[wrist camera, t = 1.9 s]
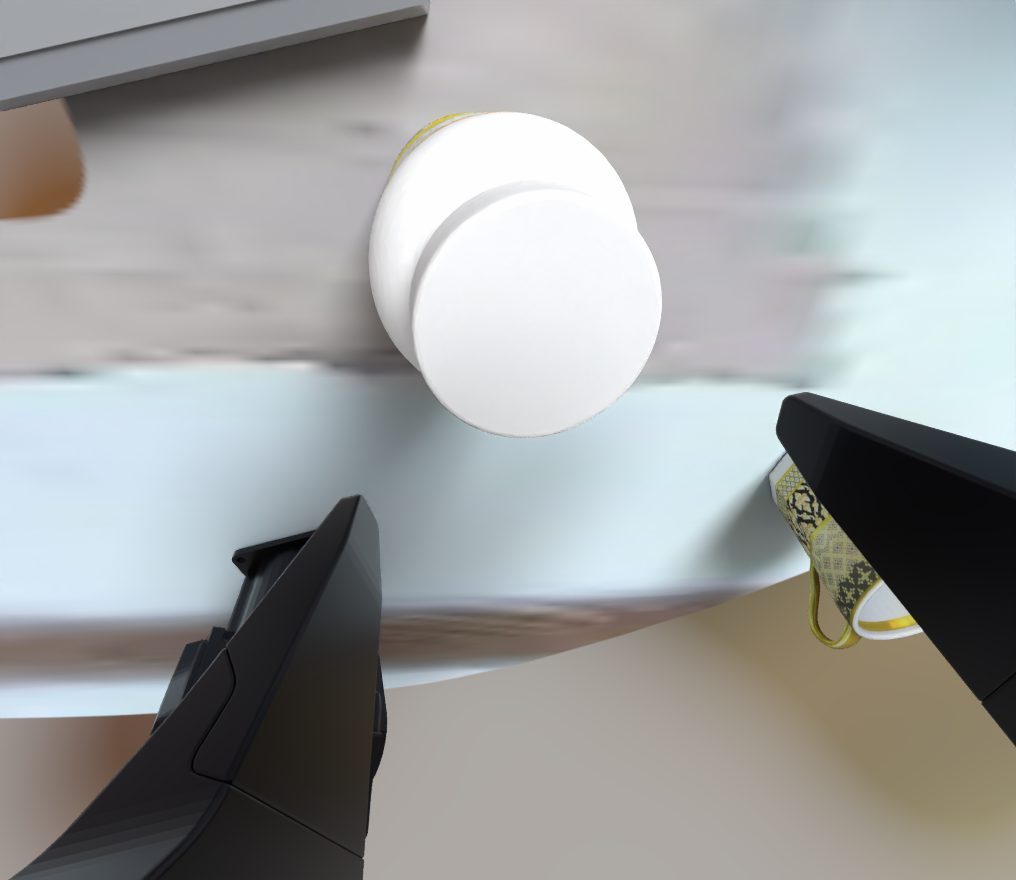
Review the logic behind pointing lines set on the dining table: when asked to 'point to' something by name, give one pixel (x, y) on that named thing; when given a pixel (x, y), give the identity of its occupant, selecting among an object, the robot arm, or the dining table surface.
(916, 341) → the dining table surface
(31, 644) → the dining table surface
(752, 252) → the dining table surface
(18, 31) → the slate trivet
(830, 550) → the ceramic cup
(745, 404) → the dining table surface
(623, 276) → the supplement bottle
